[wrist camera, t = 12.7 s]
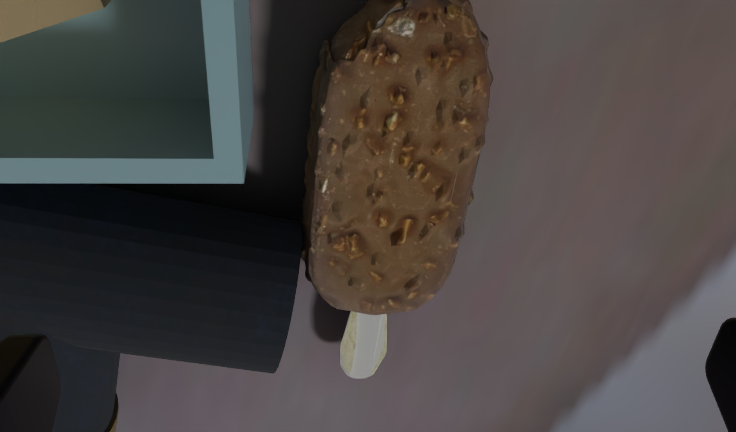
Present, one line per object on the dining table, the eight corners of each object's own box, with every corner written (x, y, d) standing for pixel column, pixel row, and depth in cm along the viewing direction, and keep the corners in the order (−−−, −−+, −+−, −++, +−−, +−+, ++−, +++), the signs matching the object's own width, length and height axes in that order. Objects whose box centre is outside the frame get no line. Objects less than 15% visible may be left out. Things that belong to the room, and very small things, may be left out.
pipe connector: (234, 537, 24) (-248, 498, 21) (244, 422, 28) (-150, 376, 25) (302, 284, 18) (-337, 180, 15) (301, 192, 23) (-192, 97, 20)
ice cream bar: (442, 365, 27) (536, -20, 19) (400, 444, 23) (496, 9, 15) (323, 317, 28) (365, -57, 20) (267, 384, 25) (291, -38, 17)
